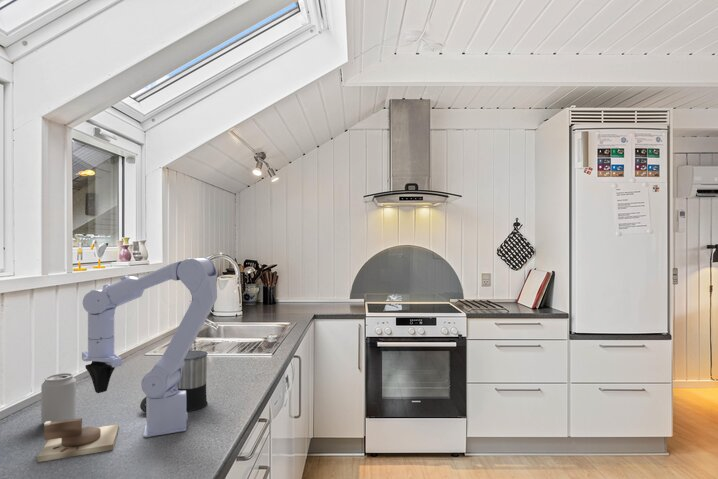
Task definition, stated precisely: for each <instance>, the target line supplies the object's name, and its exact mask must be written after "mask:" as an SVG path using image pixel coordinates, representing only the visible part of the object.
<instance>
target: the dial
mask: <svg viewBox="0 0 718 479" xmlns="http://www.w3.org/2000/svg"><path fill="white" fill-rule="evenodd" d="M97 427H98V426H97ZM97 427H96V426H85V427H83V418H82V417H80V418H78V417H77V418H73V419H71V420H63V421H56V422H51V421H46V422H45V423H44V424H43V441H48V440H51V439H58V438H62V445H63V446H67V447H74V446H81V445H85V444H88V443H91V442H93V441H95V440H97V439H98V438H100V436H101V430H100V428H97Z"/></svg>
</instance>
